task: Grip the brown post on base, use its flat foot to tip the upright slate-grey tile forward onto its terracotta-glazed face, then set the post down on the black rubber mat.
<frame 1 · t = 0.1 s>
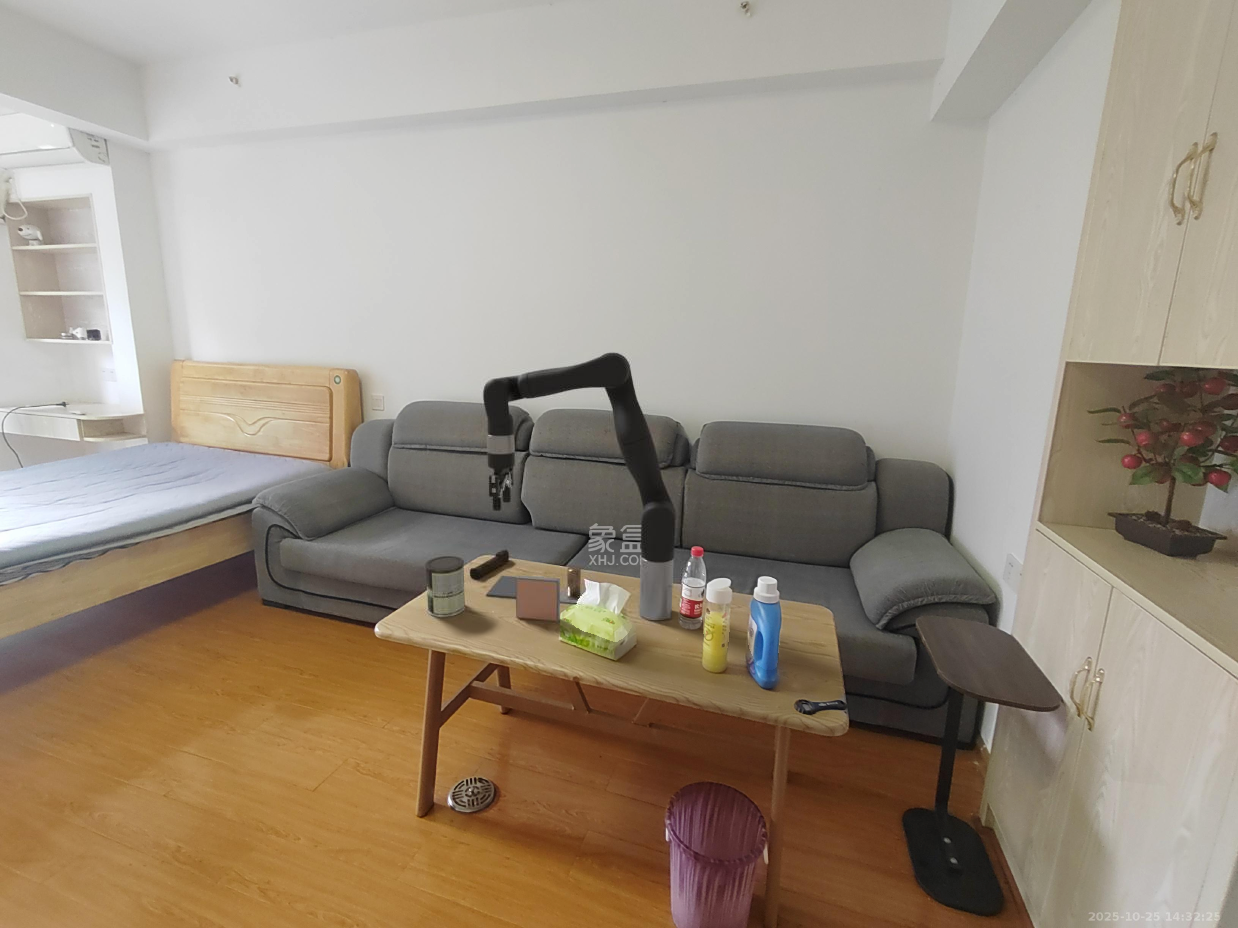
hand: (502, 506, 158), 29 cm above the table, fingers open, 8 cm apart
coffee can: (446, 609, 158), on the table
brown post on base: (573, 597, 168), on the table
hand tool: (490, 570, 187), on the table
tile: (538, 617, 155), on the table
rest mat: (516, 588, 173), on the table
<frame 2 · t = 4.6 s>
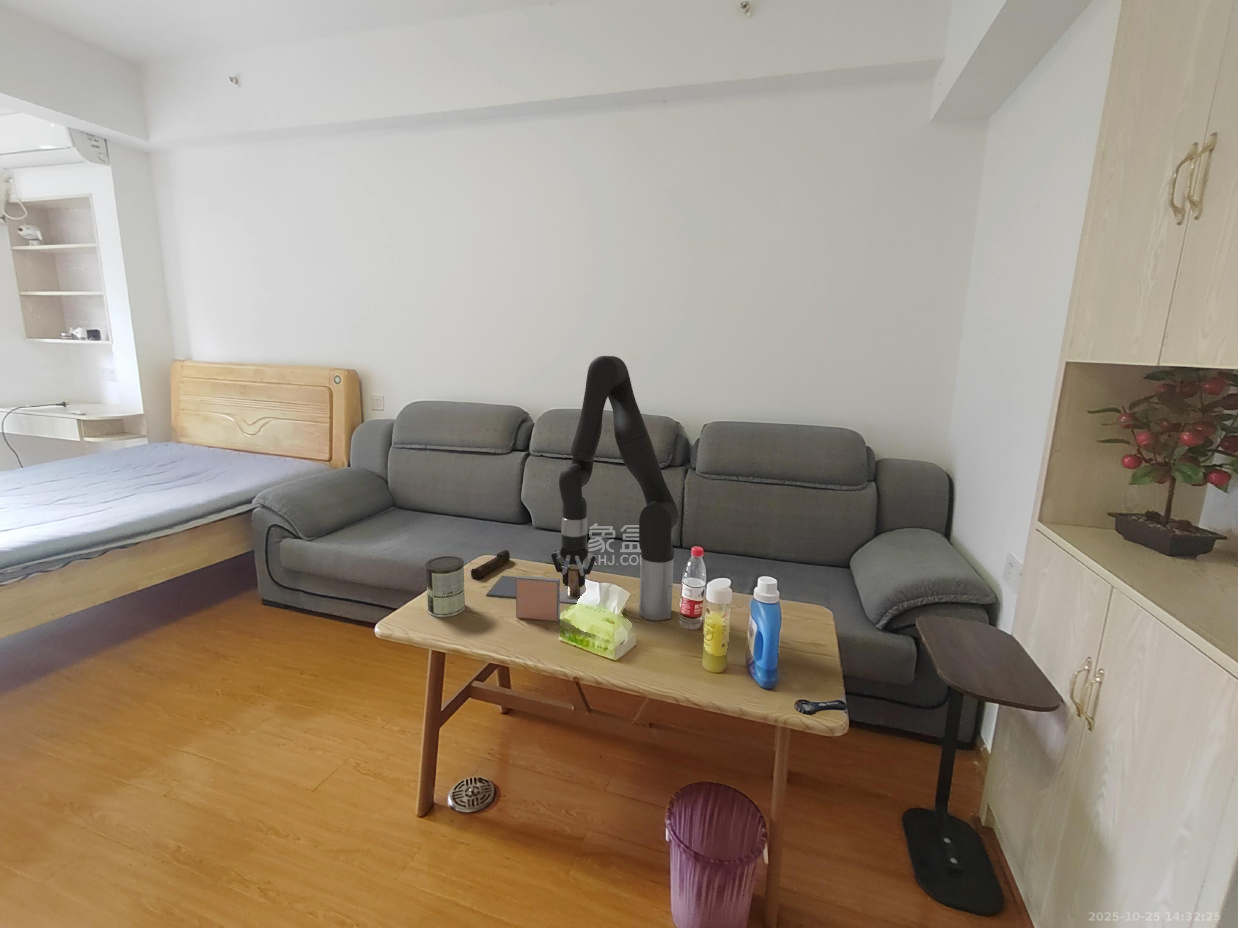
hand: (573, 585, 167), 4 cm above the table, fingers closed on brown post on base, 4 cm apart
brown post on base: (573, 597, 168), on the table, touching gripper
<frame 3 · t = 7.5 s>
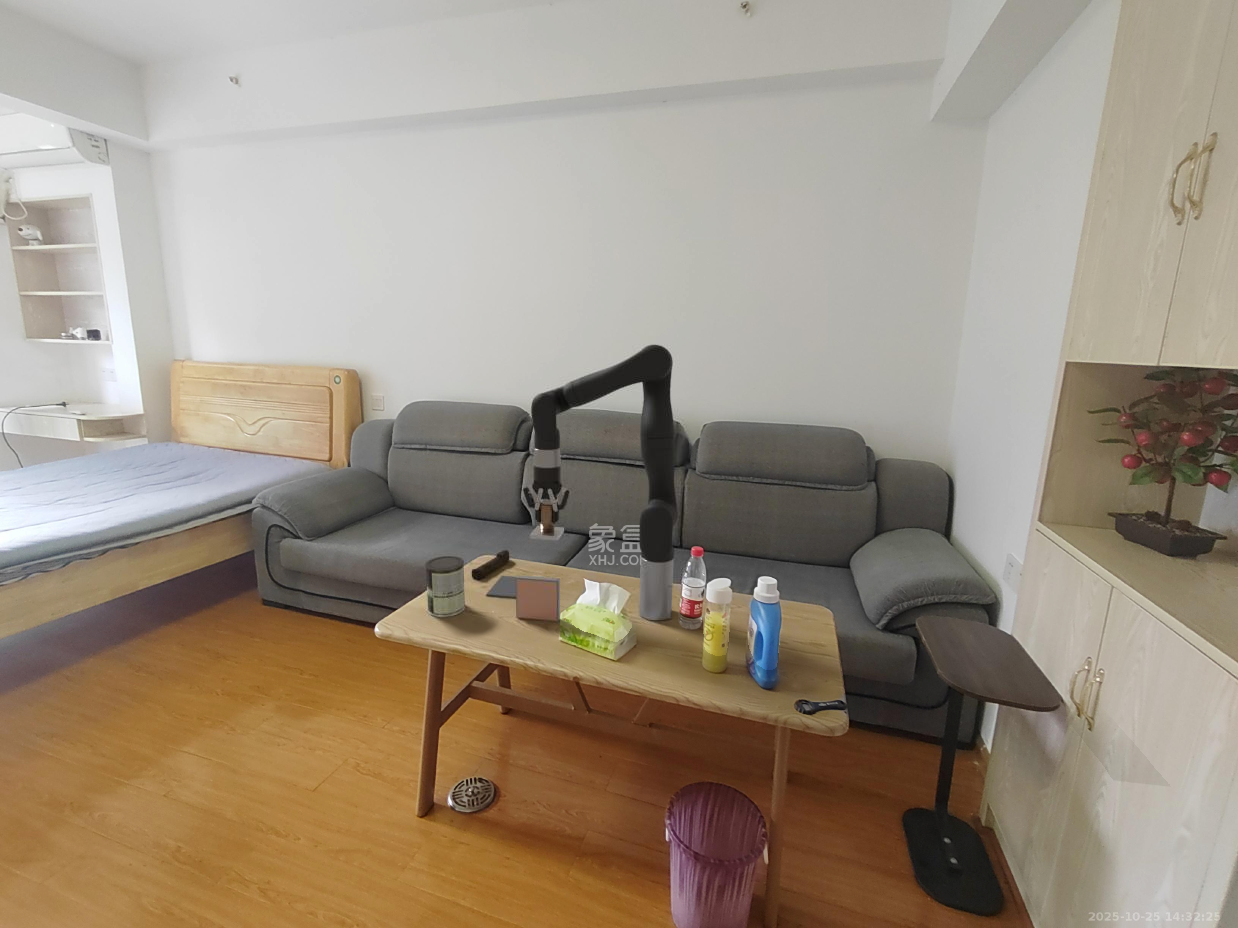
hand: (547, 522, 159), 25 cm above the table, fingers closed on brown post on base, 4 cm apart
brown post on base: (547, 534, 160), point 21 cm above the table, touching gripper
everything else where it was.
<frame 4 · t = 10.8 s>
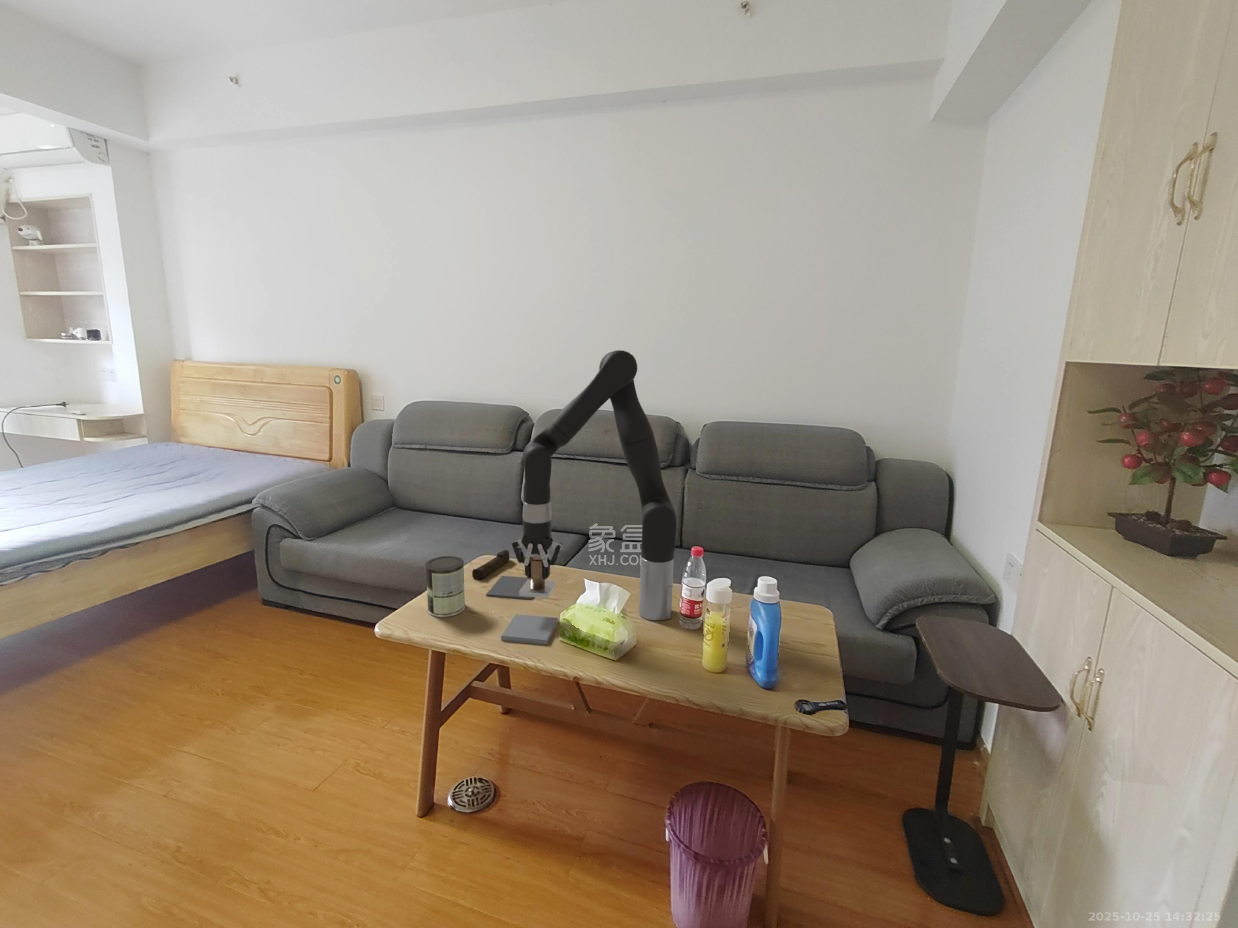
hand: (537, 577, 152), 12 cm above the table, fingers closed on brown post on base, 4 cm apart
brown post on base: (537, 590, 152), point 8 cm above the table, touching gripper
tile: (536, 615, 153), point 1 cm above the table, tilted 90°
everything else where it was.
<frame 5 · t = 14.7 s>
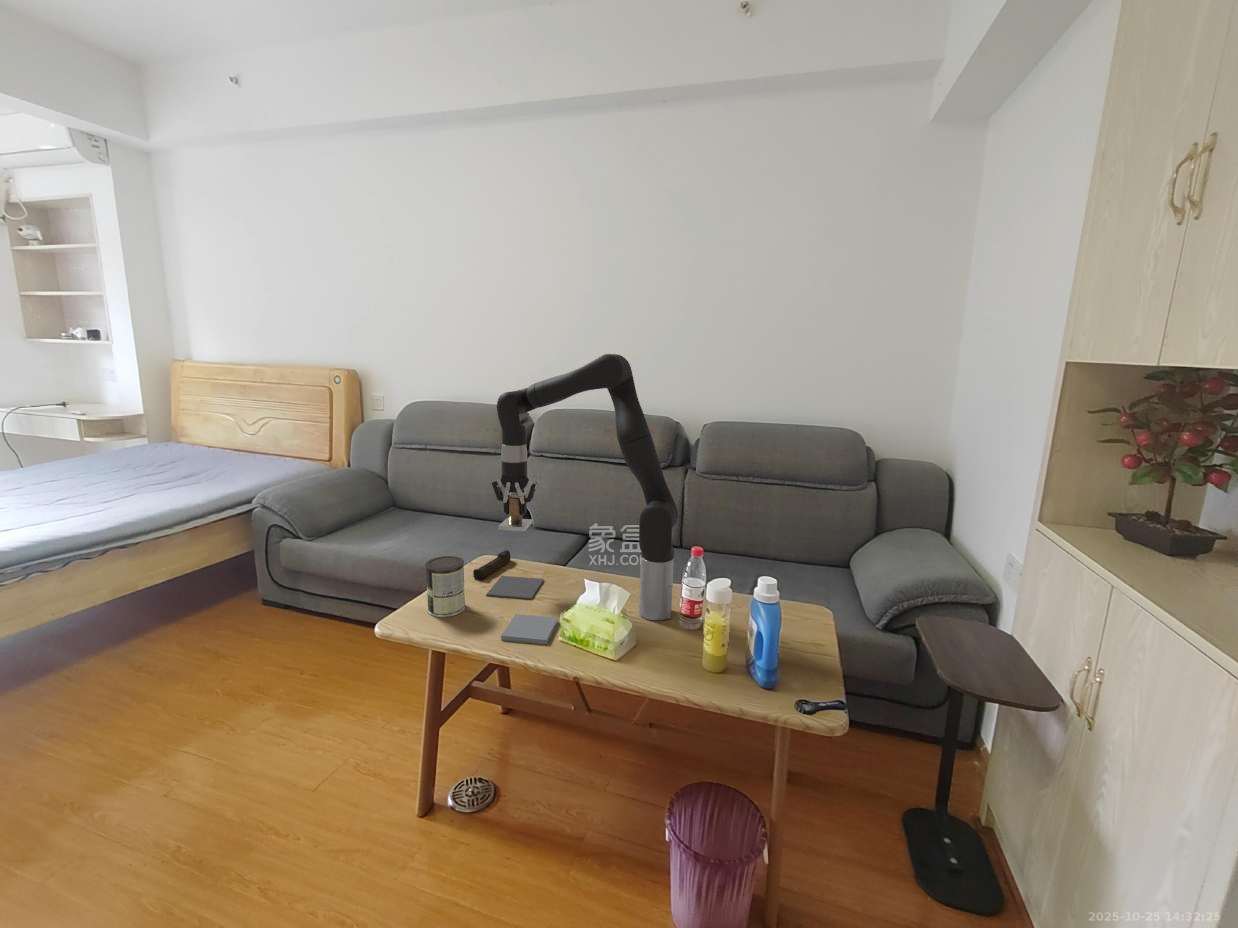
hand: (515, 514, 168), 24 cm above the table, fingers closed on brown post on base, 4 cm apart
brown post on base: (515, 526, 169), point 20 cm above the table, touching gripper
when the fingers open (6 cm above the table, at t = 18.3 s): brown post on base drops 1 cm, resting on rest mat.
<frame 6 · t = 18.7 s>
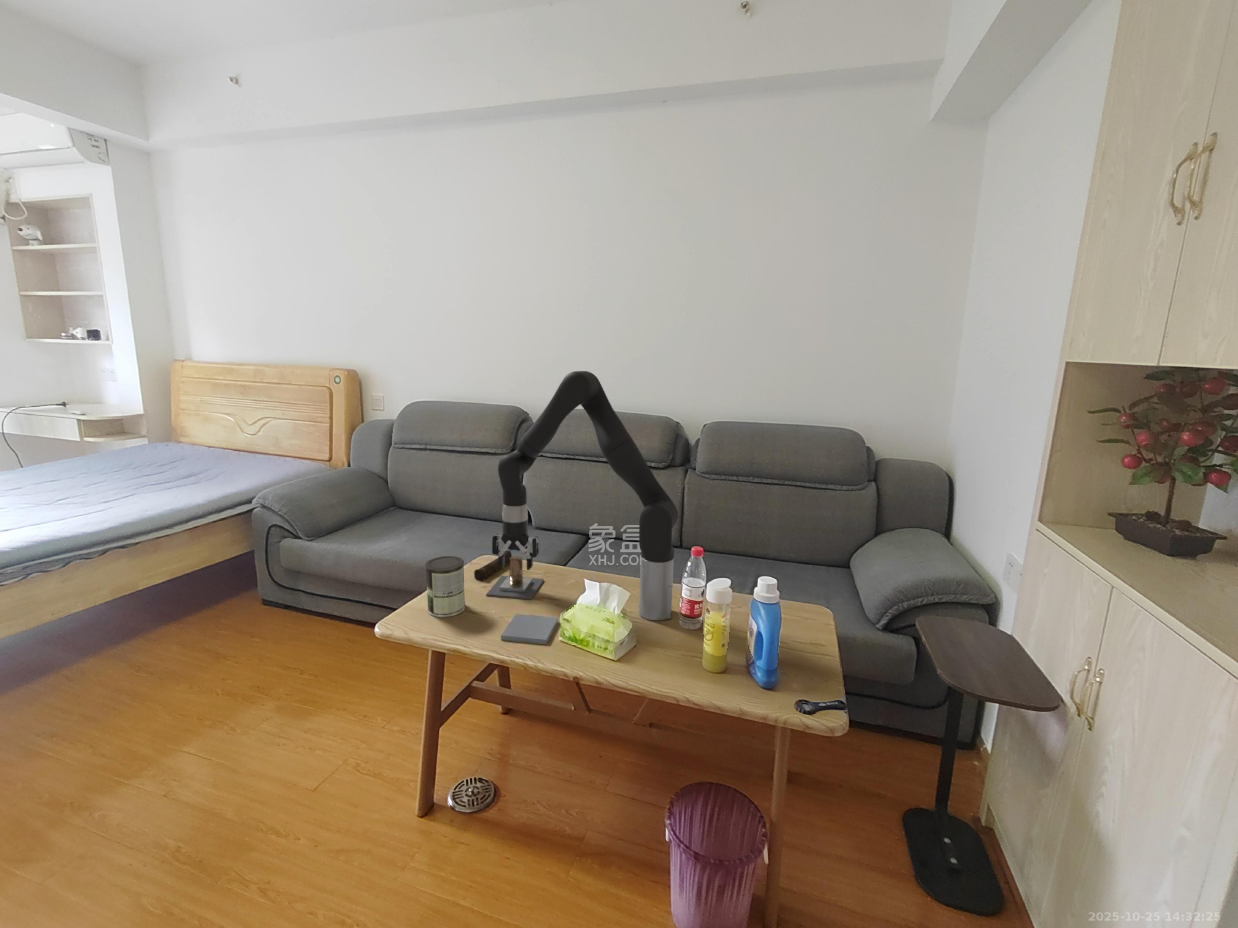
hand: (515, 568, 172), 7 cm above the table, fingers open, 8 cm apart
brown post on base: (516, 586, 173), point 1 cm above the table, touching rest mat
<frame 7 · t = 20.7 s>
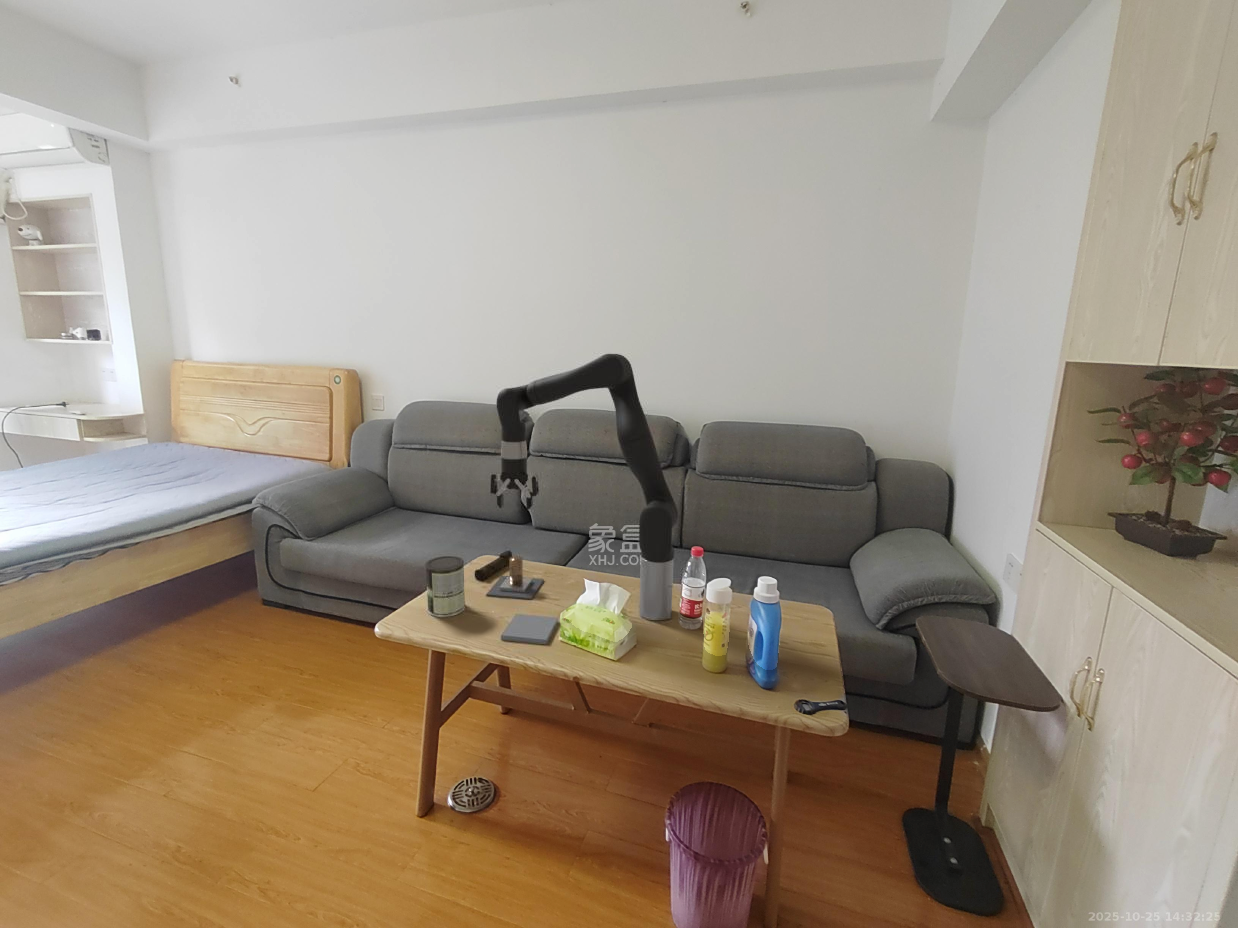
hand: (514, 508, 168), 26 cm above the table, fingers open, 8 cm apart
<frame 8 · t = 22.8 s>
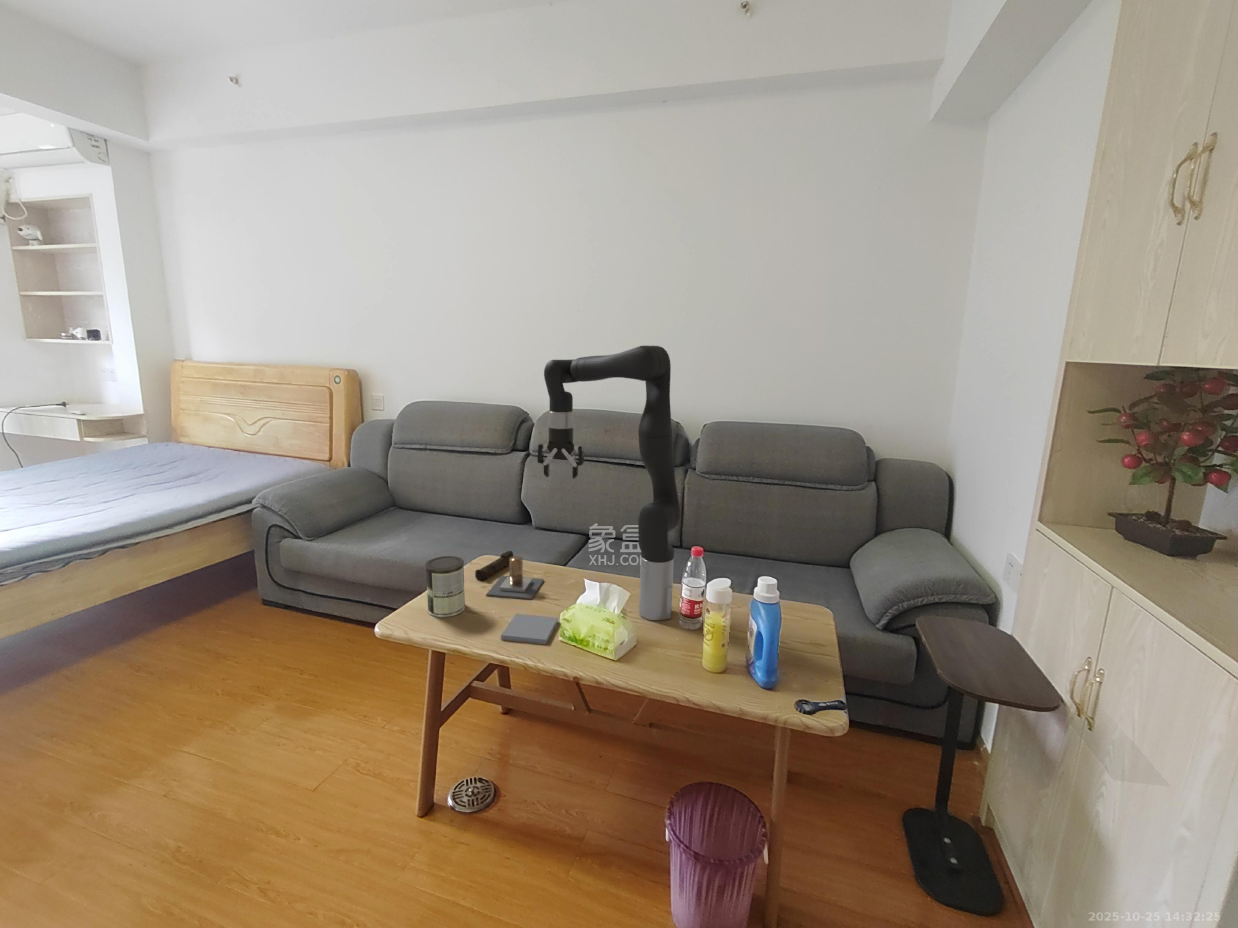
hand: (560, 477, 173), 34 cm above the table, fingers open, 8 cm apart
at the end: tile tilted 90°; tile point 1.3 cm above the table; brown post on base inside the target area on the rest mat (0.1 cm from its centre), point 0.6 cm above the rest mat's base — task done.
